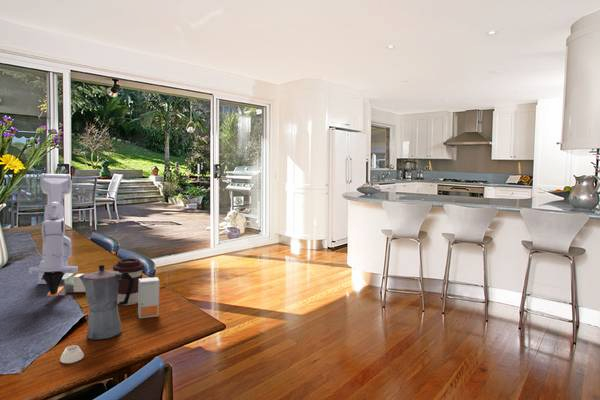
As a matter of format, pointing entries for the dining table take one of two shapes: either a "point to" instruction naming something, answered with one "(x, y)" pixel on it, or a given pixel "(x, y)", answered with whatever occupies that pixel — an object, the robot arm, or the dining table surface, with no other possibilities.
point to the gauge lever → (58, 290)
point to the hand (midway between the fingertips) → (53, 293)
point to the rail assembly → (68, 283)
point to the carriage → (78, 284)
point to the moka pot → (104, 302)
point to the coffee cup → (135, 272)
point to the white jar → (71, 354)
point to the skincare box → (148, 297)
